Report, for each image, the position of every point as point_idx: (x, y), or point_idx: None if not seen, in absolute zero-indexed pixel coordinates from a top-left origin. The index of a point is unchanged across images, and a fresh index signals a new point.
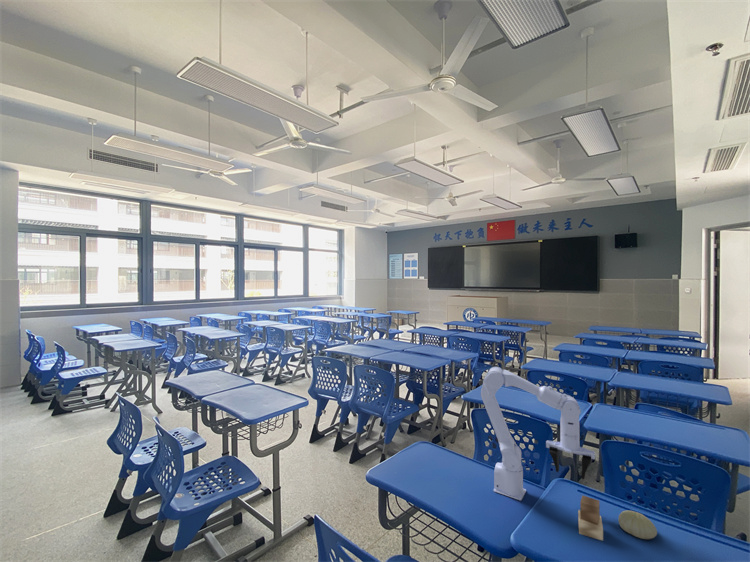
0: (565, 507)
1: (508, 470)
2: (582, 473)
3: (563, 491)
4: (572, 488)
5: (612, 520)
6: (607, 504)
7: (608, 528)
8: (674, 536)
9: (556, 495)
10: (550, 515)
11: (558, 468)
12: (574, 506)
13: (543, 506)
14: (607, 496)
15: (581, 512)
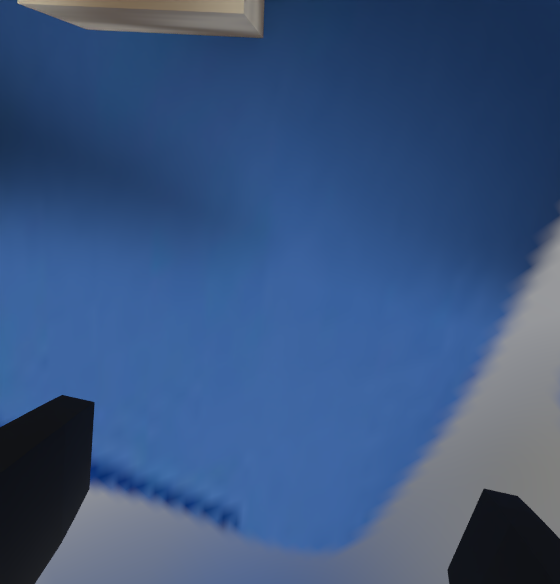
0: (347, 244)
1: None
2: (11, 451)
3: (334, 474)
4: (266, 533)
5: (13, 214)
6: None
7: (34, 68)
8: None
9: (397, 399)
10: (509, 27)
11: (489, 561)
12: (273, 293)
13: (548, 170)
14: None
15: None
